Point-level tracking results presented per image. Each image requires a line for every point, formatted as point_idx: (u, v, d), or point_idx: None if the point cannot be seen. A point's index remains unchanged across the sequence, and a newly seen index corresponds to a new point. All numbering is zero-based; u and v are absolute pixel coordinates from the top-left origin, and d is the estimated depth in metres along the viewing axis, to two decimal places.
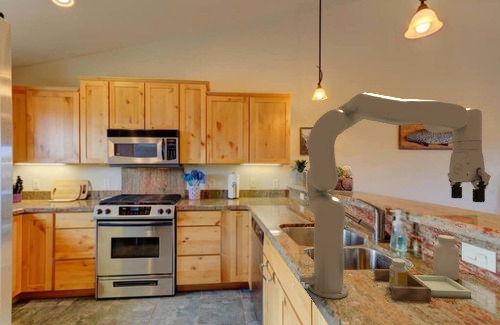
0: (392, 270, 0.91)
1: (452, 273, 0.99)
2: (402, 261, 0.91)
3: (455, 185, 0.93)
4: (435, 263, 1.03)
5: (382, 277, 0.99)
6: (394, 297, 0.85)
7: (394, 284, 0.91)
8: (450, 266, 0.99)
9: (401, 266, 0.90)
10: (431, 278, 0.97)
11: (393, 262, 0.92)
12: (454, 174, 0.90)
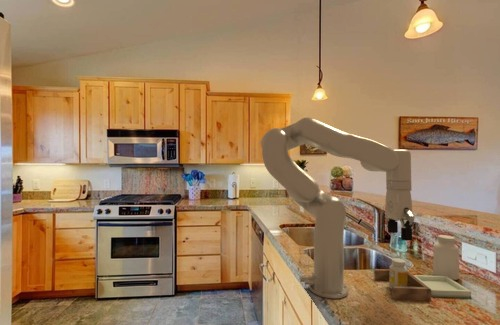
0: (392, 270, 0.91)
1: (452, 273, 0.99)
2: (402, 261, 0.91)
3: (391, 220, 0.97)
4: (435, 263, 1.03)
5: (382, 277, 0.99)
6: (394, 297, 0.85)
7: (394, 284, 0.91)
8: (450, 266, 0.99)
9: (401, 266, 0.90)
10: (431, 278, 0.97)
11: (393, 262, 0.92)
12: (388, 211, 0.94)
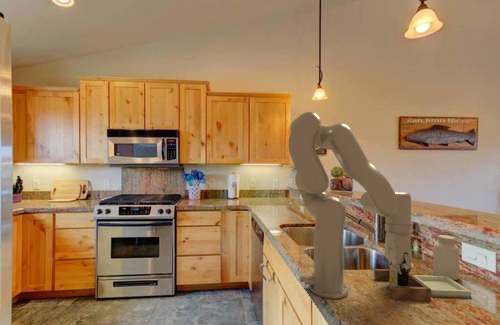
0: (392, 270, 0.91)
1: (452, 273, 0.99)
2: None
3: None
4: (435, 263, 1.03)
5: (382, 277, 0.99)
6: (394, 297, 0.85)
7: (394, 284, 0.91)
8: (450, 266, 0.99)
9: (401, 266, 0.90)
10: (431, 278, 0.97)
11: None
12: (387, 252, 0.94)
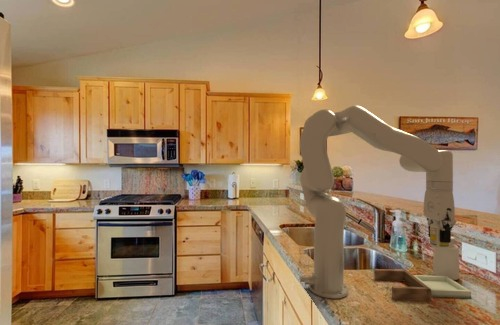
0: (434, 228, 0.91)
1: (452, 273, 0.99)
2: None
3: None
4: (435, 263, 1.03)
5: (382, 277, 0.99)
6: (394, 297, 0.85)
7: (436, 241, 0.91)
8: (450, 266, 0.99)
9: None
10: (431, 278, 0.97)
11: (434, 220, 0.92)
12: (427, 211, 0.94)
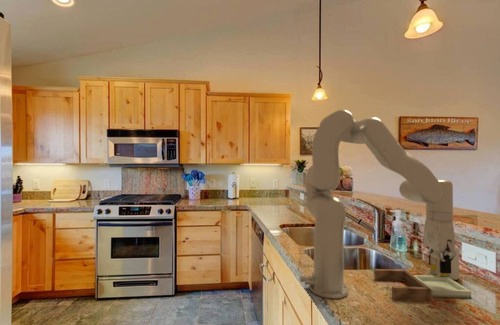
0: (434, 258, 0.91)
1: (452, 273, 0.99)
2: None
3: None
4: None
5: (382, 277, 0.99)
6: (394, 297, 0.85)
7: (436, 271, 0.91)
8: None
9: None
10: (431, 278, 0.97)
11: (434, 250, 0.92)
12: (428, 240, 0.94)
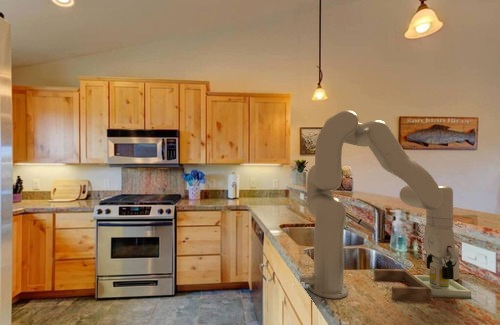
0: (434, 267, 0.91)
1: None
2: None
3: (430, 256, 0.96)
4: None
5: (382, 277, 0.99)
6: (394, 297, 0.85)
7: (435, 281, 0.91)
8: None
9: None
10: None
11: (434, 259, 0.92)
12: (427, 246, 0.94)
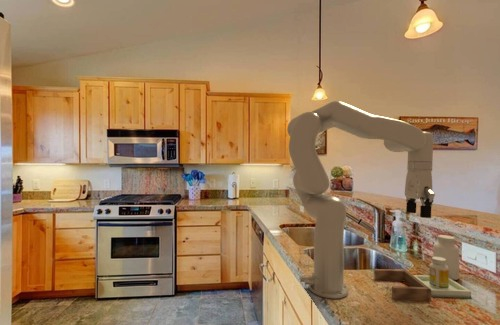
0: (433, 268, 0.91)
1: (452, 273, 0.99)
2: (443, 259, 0.91)
3: (410, 201, 1.01)
4: None
5: (382, 277, 0.99)
6: (394, 297, 0.85)
7: (435, 282, 0.91)
8: (450, 266, 0.99)
9: (442, 264, 0.90)
10: None
11: (433, 260, 0.92)
12: (408, 191, 0.98)
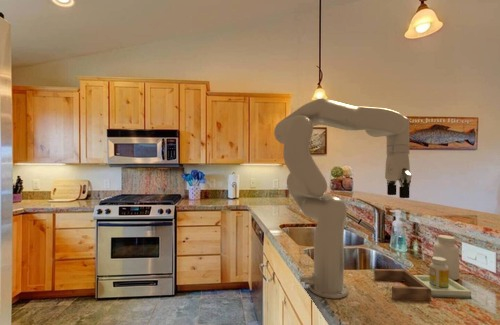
0: (433, 268, 0.91)
1: (452, 273, 0.99)
2: (443, 259, 0.91)
3: (390, 183, 1.06)
4: None
5: (382, 277, 0.99)
6: (394, 297, 0.85)
7: (435, 282, 0.91)
8: (450, 266, 0.99)
9: (442, 264, 0.90)
10: None
11: (434, 260, 0.92)
12: (388, 174, 1.03)
